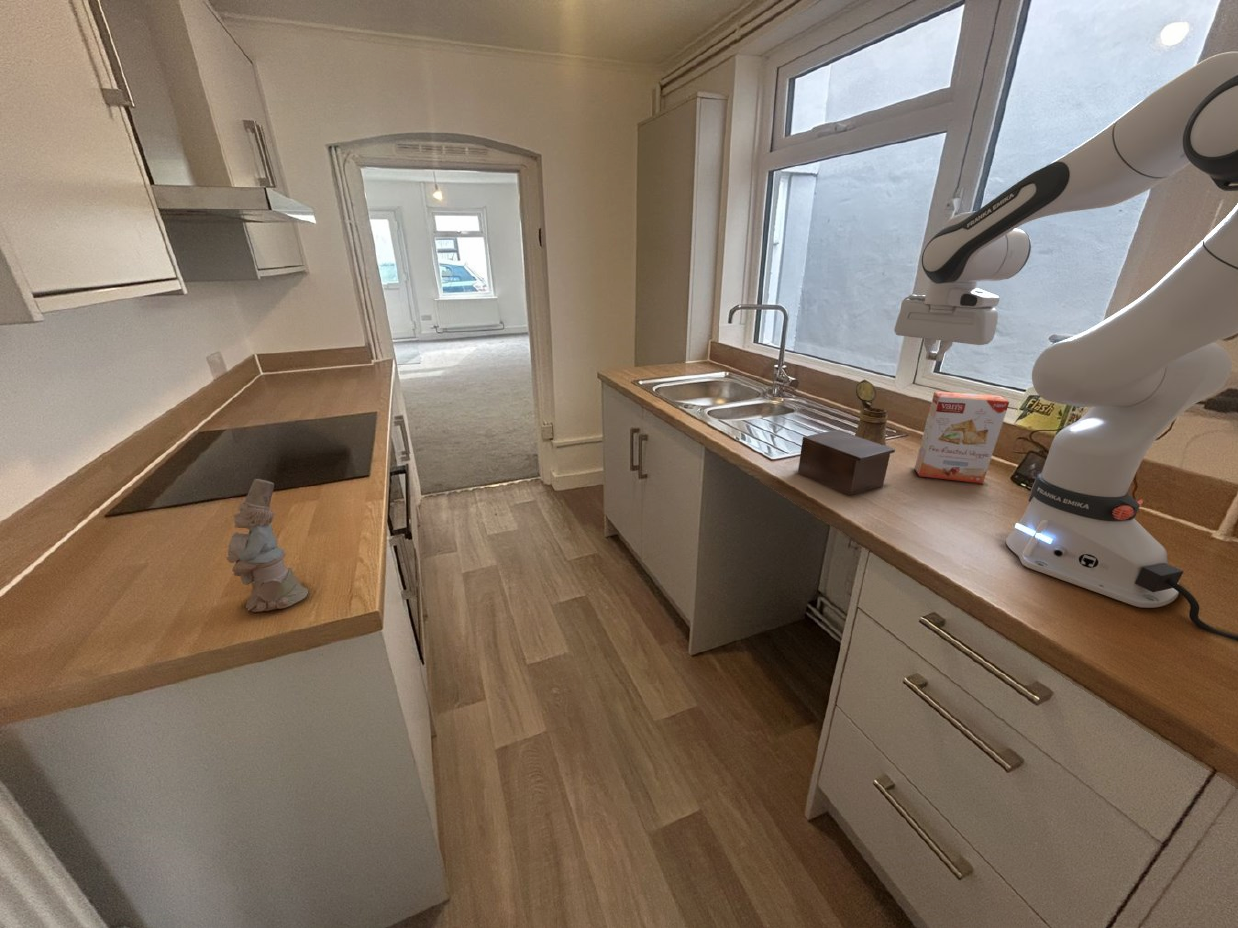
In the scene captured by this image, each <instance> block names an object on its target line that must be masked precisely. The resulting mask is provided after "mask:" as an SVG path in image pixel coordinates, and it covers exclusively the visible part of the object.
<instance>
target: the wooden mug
mask: <svg viewBox="0 0 1238 928" xmlns="http://www.w3.org/2000/svg"><path fill="white" fill-rule="evenodd" d="M855 393H856V396H857V399H859V400H860V402H861V407H860V411H859V417H858V418H859V421H858V422H859V423H858V425H857V427H856V430H855V433H854V436H856V437H860V438H863V439H866V440H869V441H872V442H875V443H878V444H881V445H884V446H887V442H886V440H887V439H886V436H887V423H888V417H889V416H888V410H887V409H885V408H880V407H879V408H878V407H873V401H874V400H875V399H876V397H877V389H876V387H875V385H874V384H872V382H870V381H868V380H866V379H862V380H861V381H859V383H858V384H857V385H856V387H855Z"/></svg>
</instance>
